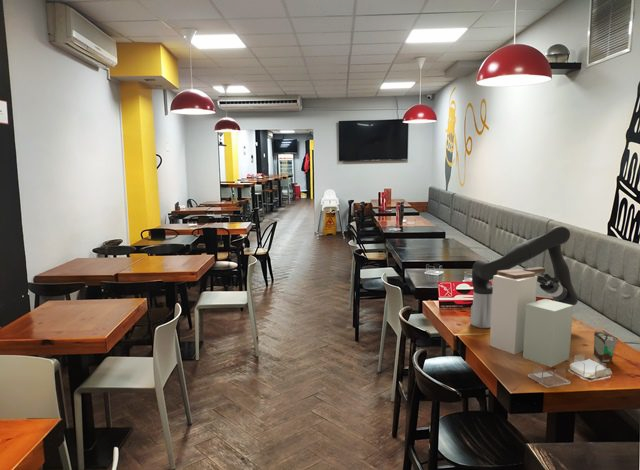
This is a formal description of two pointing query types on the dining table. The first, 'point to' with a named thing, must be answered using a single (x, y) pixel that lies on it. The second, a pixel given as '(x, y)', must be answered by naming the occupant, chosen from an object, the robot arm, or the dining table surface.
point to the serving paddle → (521, 272)
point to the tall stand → (510, 311)
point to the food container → (604, 346)
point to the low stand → (547, 332)
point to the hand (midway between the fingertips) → (536, 273)
